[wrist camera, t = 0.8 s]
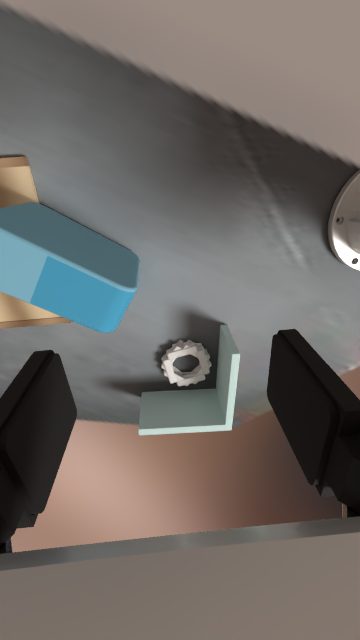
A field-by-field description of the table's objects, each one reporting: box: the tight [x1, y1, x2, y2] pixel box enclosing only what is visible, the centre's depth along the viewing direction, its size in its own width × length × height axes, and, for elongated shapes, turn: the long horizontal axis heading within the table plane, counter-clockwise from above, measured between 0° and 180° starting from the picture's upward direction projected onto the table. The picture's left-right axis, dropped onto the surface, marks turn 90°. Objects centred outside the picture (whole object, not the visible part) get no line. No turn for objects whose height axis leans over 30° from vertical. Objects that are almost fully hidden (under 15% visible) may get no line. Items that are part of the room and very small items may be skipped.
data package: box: [0, 202, 140, 333], centre depth 26 cm, size 12×4×12 cm, turn 60°
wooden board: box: [0, 157, 71, 328], centre depth 31 cm, size 10×18×1 cm, turn 4°
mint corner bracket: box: [139, 325, 240, 435], centre depth 37 cm, size 12×12×8 cm
